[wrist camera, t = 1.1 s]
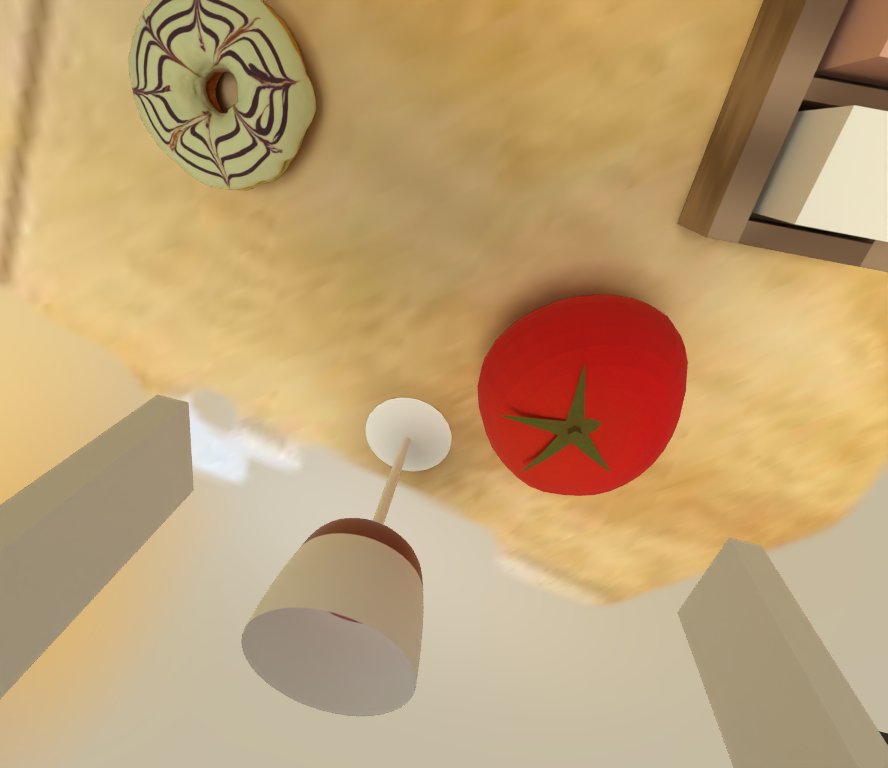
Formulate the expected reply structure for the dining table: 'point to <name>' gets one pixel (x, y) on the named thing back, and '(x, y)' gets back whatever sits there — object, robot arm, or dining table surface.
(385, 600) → the wineglass
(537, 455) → the tomato
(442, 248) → the dining table surface
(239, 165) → the decorated donut
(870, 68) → the terracotta key
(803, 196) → the ivory key
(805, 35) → the key block
